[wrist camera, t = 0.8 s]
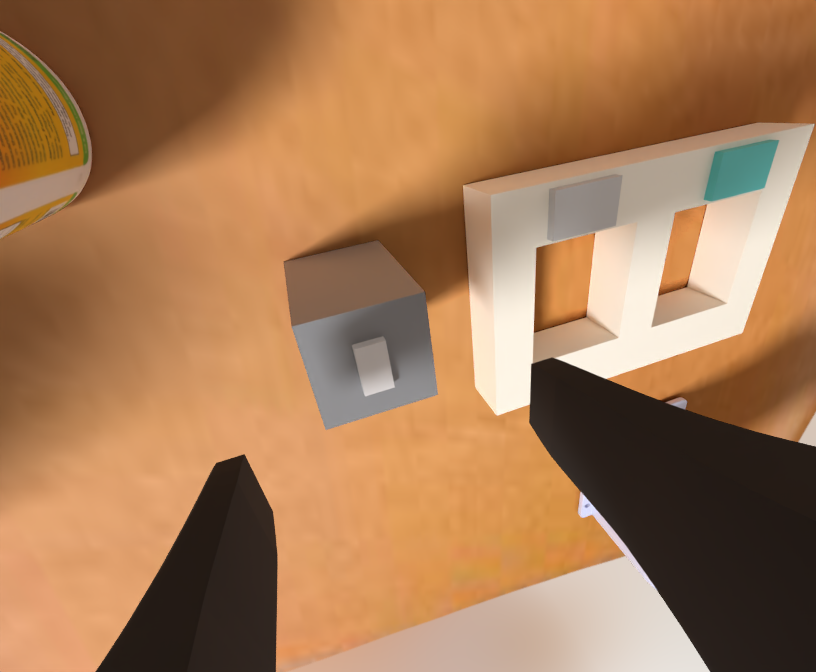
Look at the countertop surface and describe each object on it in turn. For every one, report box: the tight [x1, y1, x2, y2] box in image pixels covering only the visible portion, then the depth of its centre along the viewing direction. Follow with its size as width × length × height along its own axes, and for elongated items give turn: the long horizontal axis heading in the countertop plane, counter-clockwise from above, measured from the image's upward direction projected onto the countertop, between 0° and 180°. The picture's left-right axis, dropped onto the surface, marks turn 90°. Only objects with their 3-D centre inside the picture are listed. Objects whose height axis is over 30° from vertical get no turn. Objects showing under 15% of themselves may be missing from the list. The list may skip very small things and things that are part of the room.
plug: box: [284, 240, 438, 430], centre depth 15 cm, size 4×4×6 cm
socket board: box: [463, 123, 815, 415], centre depth 20 cm, size 11×16×3 cm
